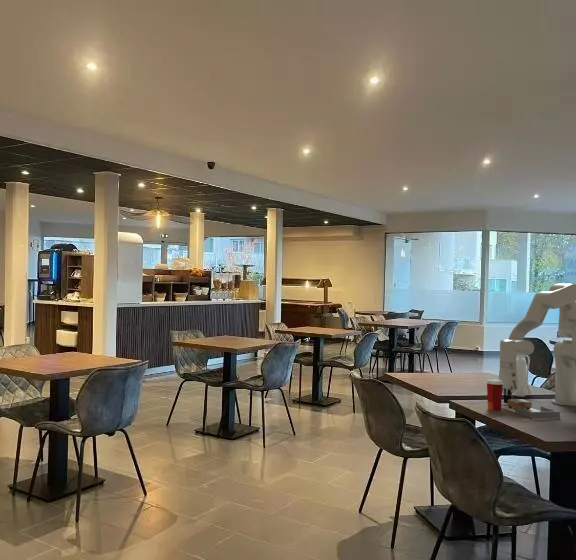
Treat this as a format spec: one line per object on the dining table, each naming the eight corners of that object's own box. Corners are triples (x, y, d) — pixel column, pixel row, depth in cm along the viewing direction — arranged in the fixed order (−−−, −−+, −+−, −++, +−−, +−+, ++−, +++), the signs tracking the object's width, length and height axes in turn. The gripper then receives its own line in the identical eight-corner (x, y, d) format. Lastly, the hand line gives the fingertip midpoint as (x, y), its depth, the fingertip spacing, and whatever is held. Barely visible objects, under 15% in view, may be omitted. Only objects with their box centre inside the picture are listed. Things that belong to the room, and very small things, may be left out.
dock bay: (523, 406, 283) (523, 400, 283) (559, 418, 257) (559, 411, 257) (496, 406, 280) (497, 400, 280) (531, 419, 254) (531, 412, 254)
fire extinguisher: (535, 396, 309) (533, 349, 310) (510, 396, 311) (509, 349, 312) (532, 394, 315) (530, 348, 317) (508, 394, 318) (507, 348, 319)
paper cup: (505, 410, 273) (505, 380, 273) (500, 413, 266) (501, 382, 267) (488, 408, 277) (488, 378, 277) (483, 410, 271) (483, 380, 271)
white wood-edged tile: (522, 407, 279) (522, 399, 279) (531, 410, 272) (531, 401, 272) (507, 407, 277) (507, 399, 277) (516, 410, 270) (516, 402, 270)
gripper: (524, 367, 278) (523, 405, 277) (506, 363, 292) (505, 400, 292) (509, 367, 276) (509, 406, 276) (492, 363, 291) (492, 400, 291)
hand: (507, 402), depth 284 cm, fingers closed
